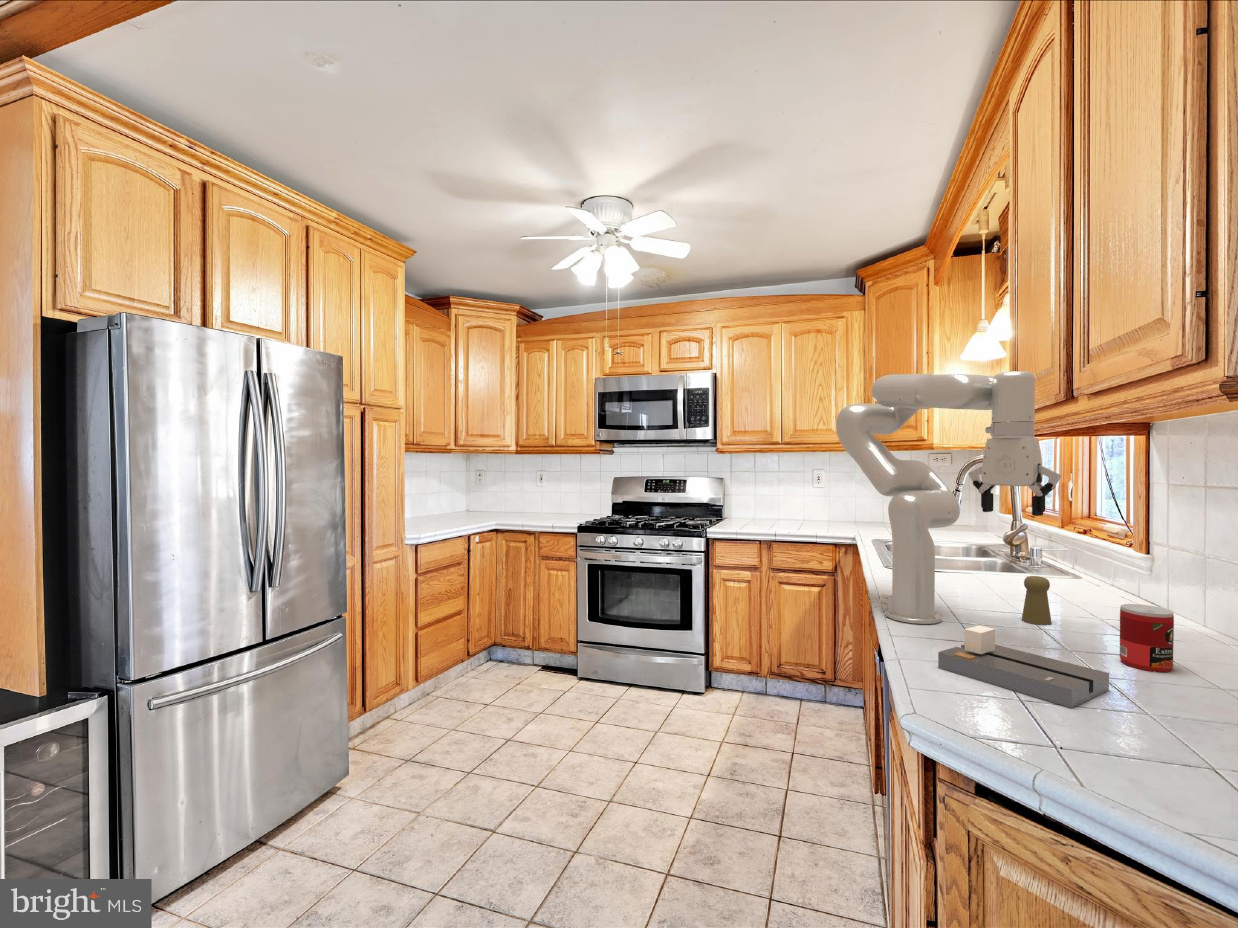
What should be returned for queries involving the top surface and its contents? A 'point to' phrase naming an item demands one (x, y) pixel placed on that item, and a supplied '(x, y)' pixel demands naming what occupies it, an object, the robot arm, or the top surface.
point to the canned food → (1146, 637)
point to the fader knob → (979, 639)
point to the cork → (1036, 601)
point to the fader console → (1028, 674)
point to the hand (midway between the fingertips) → (1011, 513)
